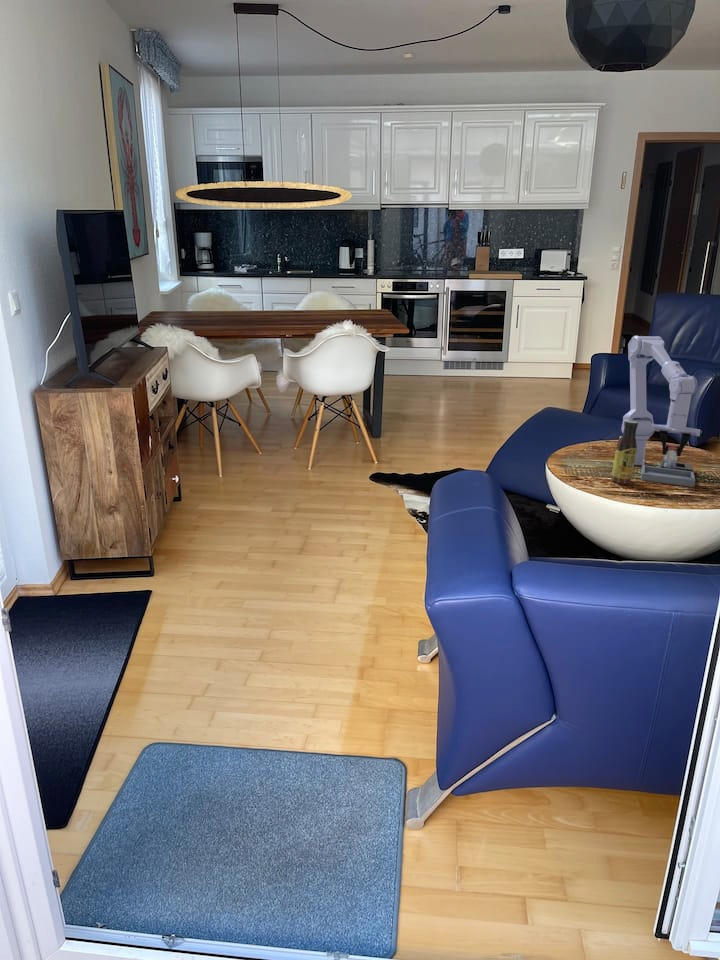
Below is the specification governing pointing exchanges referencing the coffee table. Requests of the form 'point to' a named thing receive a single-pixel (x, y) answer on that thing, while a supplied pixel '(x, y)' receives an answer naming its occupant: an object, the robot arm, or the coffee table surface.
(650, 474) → the tray
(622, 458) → the sauce bottle
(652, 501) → the coffee table surface
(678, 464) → the hitch block
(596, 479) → the coffee table surface
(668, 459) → the small white jar
